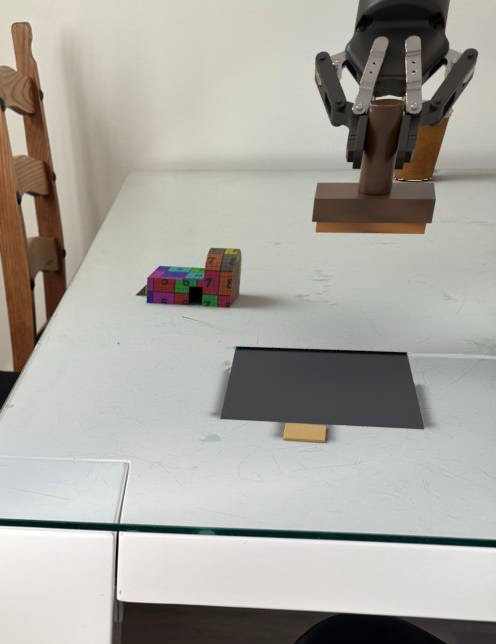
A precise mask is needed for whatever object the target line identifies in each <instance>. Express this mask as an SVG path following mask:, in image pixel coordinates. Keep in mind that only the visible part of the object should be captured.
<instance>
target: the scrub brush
mask: <svg viewBox="0 0 496 644" xmlns="http://www.w3.org/2000/svg"><path fill="white" fill-rule="evenodd" d="M404 106H405V102H404V101H403V100H402V99H399V98H378V99H376V100H374V101H371V102H370V106H369V113H368V122H367V129H366V137H365V144H364V151H363V157H362V164H361V169H360V173H359V180H358V182H317V183H316V188H315V193H314V198H313V205H312V206H313V208H312V214H311V215H312V216H311V222H312V223H315V230H314V231H315V233H317V234H318V233H323V234H383V235H384V234H387V235H388V234H390V235H391V234H392V235H395V234H396V235H425V233H426V228H427V224H432V223H433V218H434V213H435V207H436V202H437V197H436V188H435V182H394V171H395V170H394V168H395V162H396V155H397V149H398V142H399V136H400V129H401V123H402V116H403V112H404Z"/></svg>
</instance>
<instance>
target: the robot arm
mask: <svg viewBox="0 0 496 644" xmlns="http://www.w3.org/2000/svg"><path fill="white" fill-rule="evenodd" d="M450 3H451V0H358V5H357V11H356V17H355V22H354V23H355V24H354V30H353V35H352V37H351V38H350V40H349V41H348V42H347V44H346V45H345V47H344V50H343V51H341V52H338V53H335V54H332V55H330V53H329V52H328V51H319V52H318V53H316V55H315V58H314V82H315V85H316V88H317V90H318V93H319V96H320V98H321V101H322V104H323V106H324V109H325V111H326V115H327V117H328V120H329V122H330V125H331V126H333V127H335V128H339V127H342V126H344V127H346V128H347V129H348V134H347V141H346V145H345V146H346V148H345V160H346V163H352V166H351V167H352V170H361V165H362V157H363V151H364V144H365V137H366V129H367V122H368V113H369V106H370V102H371V101H374V100H377V98H382V97H383V98H384V97H387V96H392V97H397V98H401V100H403V101H404V102H405V106H404V112H403V116H402V123H401V129H400V136H399V142H398V149H397V155H396V162H395V168H394V170H403V166H404V163H410V162H411V161H412V159H413V157H414V152H415V146H416V139H417V133H418V130H419V129H420V128H421V127H422V126H425V125H429V126H431V127H436V126H438V125H440V123H441V122H442V121H443V119H444V118H445V116H446V115H447V113H448V112H449V111H450V109H451V108H452V109H453V106H454V105H455V103H456V102H457V100H458V99H459V98H460V96H461V95H462V93H463V92H464V91H465V90H466V88H467V87H468V85H469V84H470V82H471V81H472V79H473V77H474V74H475V71H476V67H477V62H478V57H479V51H478V49H476V48H473V47H470V48H467V49H465V50H464V51H463V52H461V51H458V50H455V49H453V48H450V41H449V38H448V37H447V35H446V30H447V25H448V23H447V22H448V16H449V9H450ZM442 67H444V68H445V70H444V75H443V77H444V79H443V81H442V82H441V83H440V85H439V87H438V88H437V89H436V91H435V92H434V93H433V95H432V97H431V98H430V99H428V100H429V101H425V102H422V100H423V93H422V92H423V90H422V88H423V86H424V85H425V84H426V83H427V82H428V81H429V80H430V79H431V78H432V77H433V76H434V75H435V74H436V73H437V72H438V71H439V70H440V69H441V68H442ZM345 68H346V69H347V71H348V72H349V73H350V75H351V76H352V78H353V80H354V81H355V82H356V83H357V85H358V91H357V94H356V96H355V99H354V102H352V101H350V100H349V101H348V100H347V97H346V95H345V91H344V88H343V86H342V83H341V82H340V81H341V79H342V77H343V76H342V75H343V70H344V69H345Z"/></svg>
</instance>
